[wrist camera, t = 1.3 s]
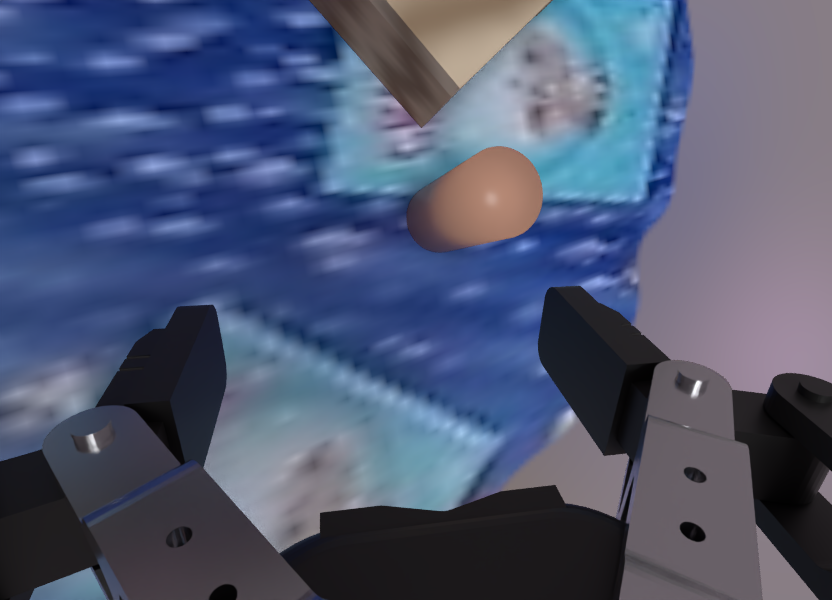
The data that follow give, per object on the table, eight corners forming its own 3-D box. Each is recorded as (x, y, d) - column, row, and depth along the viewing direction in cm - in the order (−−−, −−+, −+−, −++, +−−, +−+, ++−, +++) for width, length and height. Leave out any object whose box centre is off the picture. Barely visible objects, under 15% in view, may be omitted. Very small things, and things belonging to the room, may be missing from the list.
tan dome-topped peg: (392, 217, 39) (441, 189, 29) (438, 170, 40) (501, 127, 30) (439, 266, 40) (502, 257, 30) (482, 220, 41) (558, 195, 31)
